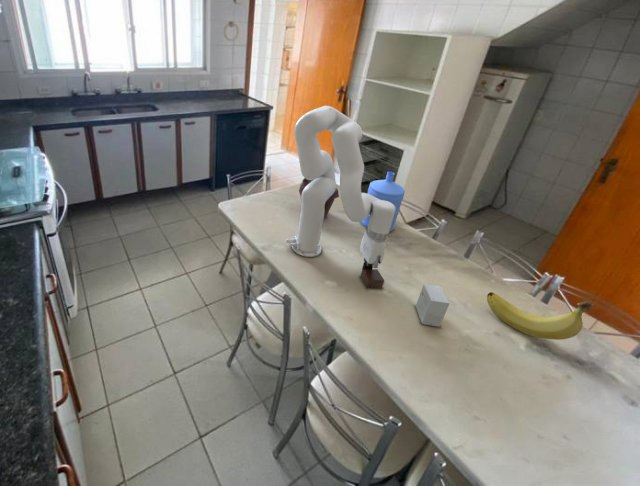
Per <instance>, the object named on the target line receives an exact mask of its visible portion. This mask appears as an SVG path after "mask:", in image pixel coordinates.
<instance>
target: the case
mask: <svg viewBox="0 0 640 486" xmlns="http://www.w3.org/2000/svg"><path fill="white" fill-rule="evenodd" d="M312 181H313V180H308V179H306V178H304V177H303V179H302V180H301V182H300V186H299V188H298V192H299V196H301V195H302V191H303V190H304V188H305V187H306V186H307V185H308V184H309V183H310V182H312ZM337 198H340V192H339V190H338V188H337V187H336V189H335V192H334V193H333V194H332V195H331V196H330V197H329V199H328V200H327V201H326V202H325V206H324V208H325V213H324V219H323V220H325V219H326V218H327V216H328V214H329V212H330V211H331V208H332V206H333V203H334V201H335V199H337Z"/></svg>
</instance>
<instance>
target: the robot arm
mask: <svg viewBox="0 0 640 486" xmlns="http://www.w3.org/2000/svg"><path fill="white" fill-rule="evenodd" d="M326 130H327V131H329V132H330V133H331V143H332V147H333V150H334V154H335V158H336V162H337V166H338V169H339V196H340V200H341V205H342V208H343V210H344V213H345V215H346V216H347V218H348V219H349V220H350V221H352V222H356V223H358V222H359V223H361V221H363V220H364V219H365V218H366V217H367V216H368V214H369V215H370V219H369V223H368V227H367V228H366V230H365V232H364V233H363V236H362V239H361V242H360V244H359V245H360V246H359V251H360V253H361V255H362V257H363V264H362V268H361V270H362V269H378V267H379V265H381V263H382V262H383V260H384V256H385V251H386V247H387V246H386V245H387V241H388V237H389V234H390V232H391V231H390V227H391V224H392V221H393V217H394V214H395V210H396V208H395V206H394V205H393V204H392V203H391V202H388V201H384V200H380V199H378V198H376V197H374V196H372V195H370V194H368V192H362V181H363V177H364V172H365V163H364V160H363V157H362V152H361V148H360V144H359V142H360V141H361V140H362V138H363V129H362V127H361V126H360V125H359V124H358V123H357V121H354V119H351V118H350V117H349V116H347V115H346V114H344V113H343V112H341V111H339V110H338V109H336V108H335V107H333V106H329V105H322V106H319V107H317V108H315V109H314V108H313V109H312V110H309V111H308V112H306V113H304V114H303V115H302V116H301V117H299V119H298V120H296V123H295V125H294V134H293V135H294V138H295V143H296V148H297V149H296V150H297V156H298V161H299V169H300V173H301V175H302V177H303V179H304V178H306V179H308V180H313V181H312V182H310V183H309V184H308V185H307V186H306V187H305V188H304V190H303V191H302V195H300V214H299V220H298V221H299V222H298V229H297V235H295V236H294V237H292V238H285V244H288V246H289V247H291V248H292V251H294V252H295V254H297V255H300V256H302V257H306V258H314V257H318V256H319V255H321V253H322V249H323V248H322V246H321V243H320V239H321V235H322V229H323V226H324V225H323V224H324V220H325V219H324V213H325V208H324V206H325V202H326V201H327V200H328V199H329V197H330V196H331V195H332V194H333V193H334V192H335V189H336V188H337V181H336V180H337V179H336V173H335V166H334V161H333V158H332V156H331V154H330V153H329V152H328V151H326V150H323V149H321V145H320V141H319V139H318V137H317V135H318V134H319V133H321V132H324V131H326ZM389 231H390V232H389Z"/></svg>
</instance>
